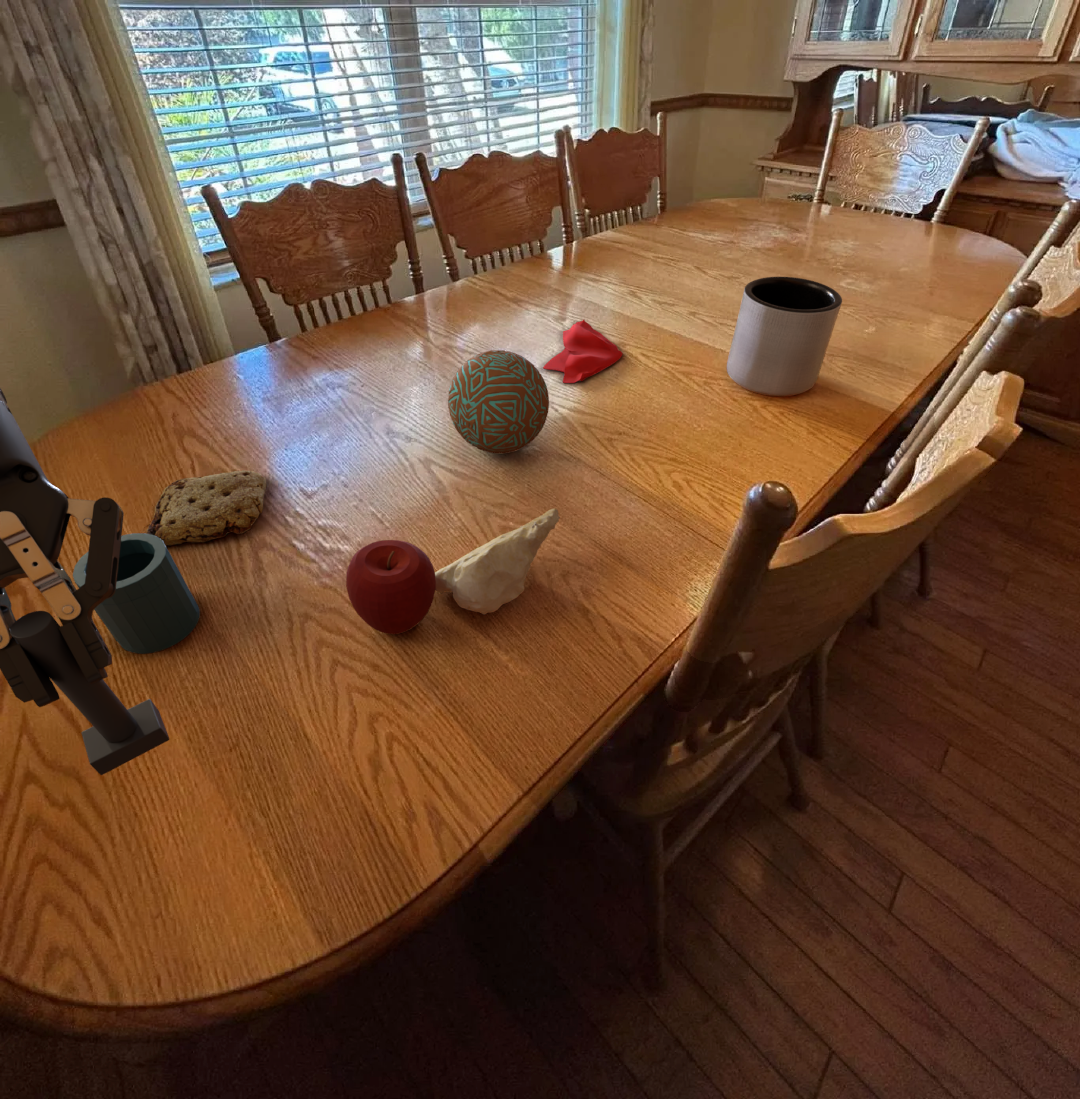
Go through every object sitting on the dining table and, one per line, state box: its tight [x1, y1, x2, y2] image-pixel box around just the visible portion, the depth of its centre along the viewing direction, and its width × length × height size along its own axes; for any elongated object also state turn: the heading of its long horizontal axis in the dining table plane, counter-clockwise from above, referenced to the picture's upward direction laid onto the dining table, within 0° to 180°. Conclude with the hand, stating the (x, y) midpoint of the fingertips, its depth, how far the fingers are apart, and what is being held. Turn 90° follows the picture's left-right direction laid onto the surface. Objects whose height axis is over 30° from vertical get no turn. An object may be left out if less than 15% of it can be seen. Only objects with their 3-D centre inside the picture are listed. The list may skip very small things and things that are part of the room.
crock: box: [72, 532, 201, 655], centre depth 68 cm, size 9×9×10 cm
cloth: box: [542, 319, 624, 384], centre depth 122 cm, size 26×14×2 cm, turn 164°
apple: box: [345, 539, 436, 635], centre depth 69 cm, size 10×10×10 cm
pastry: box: [145, 469, 267, 547], centre depth 86 cm, size 17×17×3 cm
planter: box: [726, 276, 843, 397], centre depth 110 cm, size 16×16×16 cm
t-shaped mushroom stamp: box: [10, 610, 170, 776], centre depth 40 cm, size 4×3×13 cm
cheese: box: [435, 507, 561, 615], centre depth 74 cm, size 15×7×15 cm
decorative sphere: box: [447, 349, 550, 455], centre depth 94 cm, size 15×15×15 cm
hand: (74, 690), depth 37 cm, fingers closed on t-shaped mushroom stamp, 2 cm apart
